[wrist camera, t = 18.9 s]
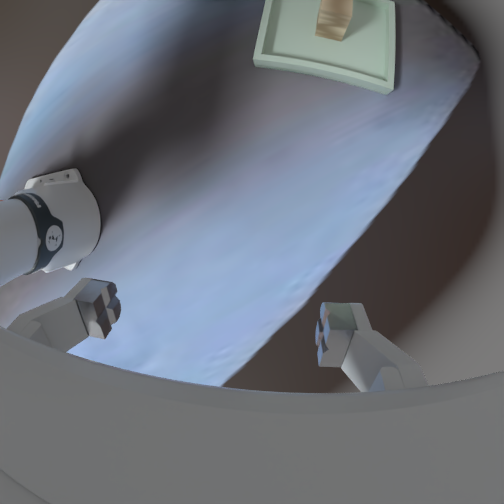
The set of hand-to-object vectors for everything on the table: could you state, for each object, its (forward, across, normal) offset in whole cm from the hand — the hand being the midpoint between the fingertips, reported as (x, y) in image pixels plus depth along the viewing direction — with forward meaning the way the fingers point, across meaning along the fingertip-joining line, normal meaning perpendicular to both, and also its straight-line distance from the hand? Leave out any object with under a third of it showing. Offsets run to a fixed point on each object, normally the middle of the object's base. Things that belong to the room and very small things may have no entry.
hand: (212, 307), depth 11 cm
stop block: (+36, -9, -23) cm, 43 cm away
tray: (+37, -9, -23) cm, 44 cm away
